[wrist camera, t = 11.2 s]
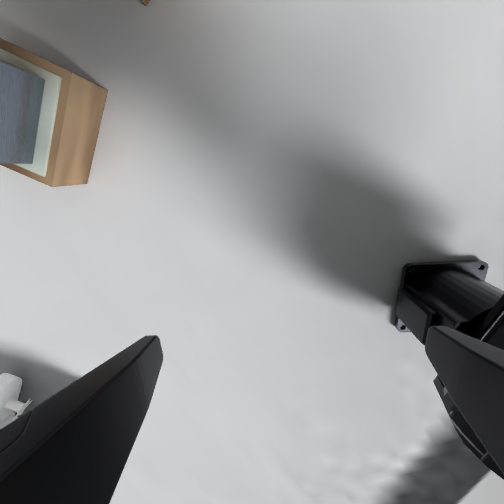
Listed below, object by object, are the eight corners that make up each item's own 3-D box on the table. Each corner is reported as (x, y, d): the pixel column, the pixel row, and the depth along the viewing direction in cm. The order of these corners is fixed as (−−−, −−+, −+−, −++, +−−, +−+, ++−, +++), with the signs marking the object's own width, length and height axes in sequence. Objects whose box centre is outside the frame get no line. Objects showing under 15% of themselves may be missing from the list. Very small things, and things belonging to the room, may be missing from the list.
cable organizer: (16, 352, 26) (-169, 492, 15) (114, 390, 27) (12, 545, 16) (-3, 441, 30) (-155, 599, 19) (81, 470, 31) (-16, 634, 20)
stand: (107, 90, 18) (69, 71, 14) (87, 183, 20) (49, 187, 16) (7, 42, 17) (-59, 9, 13) (-3, 144, 19) (-62, 139, 16)
